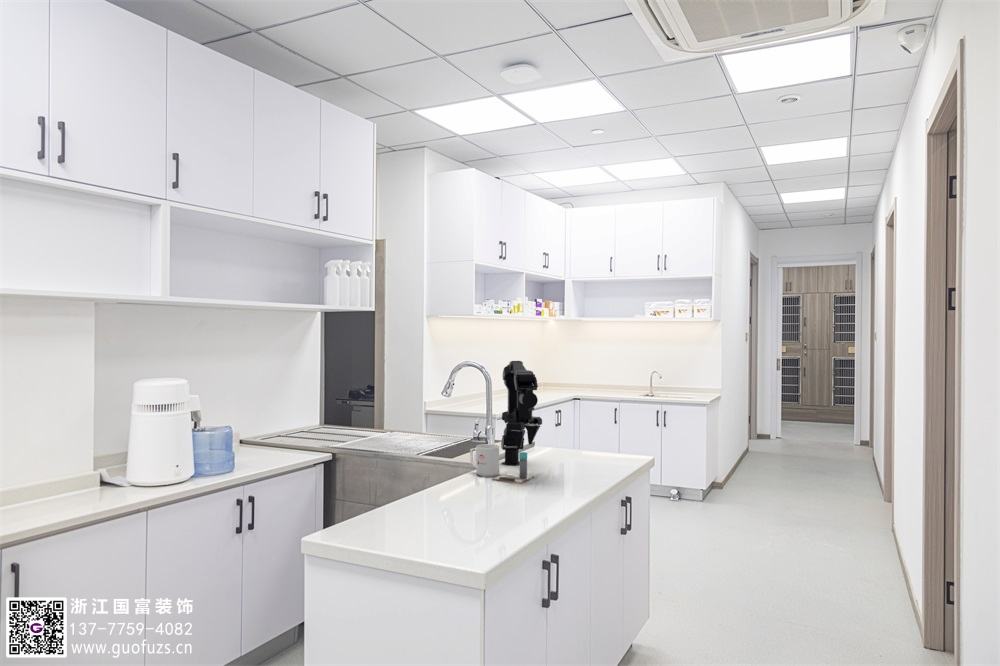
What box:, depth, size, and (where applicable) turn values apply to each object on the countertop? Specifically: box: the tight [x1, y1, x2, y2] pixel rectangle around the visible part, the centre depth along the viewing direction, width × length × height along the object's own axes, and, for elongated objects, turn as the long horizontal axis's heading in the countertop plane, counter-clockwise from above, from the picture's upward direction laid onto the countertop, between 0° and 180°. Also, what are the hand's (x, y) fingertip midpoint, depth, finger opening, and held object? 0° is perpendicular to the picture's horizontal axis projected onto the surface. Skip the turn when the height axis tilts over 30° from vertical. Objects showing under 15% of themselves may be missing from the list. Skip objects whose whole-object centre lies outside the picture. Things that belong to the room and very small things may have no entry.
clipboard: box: [491, 473, 535, 485], centre depth 252 cm, size 11×12×1 cm
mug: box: [469, 443, 500, 478], centre depth 259 cm, size 12×9×11 cm
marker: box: [519, 451, 528, 479], centre depth 251 cm, size 3×3×9 cm
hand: (524, 446), depth 252 cm, fingers open, 9 cm apart
